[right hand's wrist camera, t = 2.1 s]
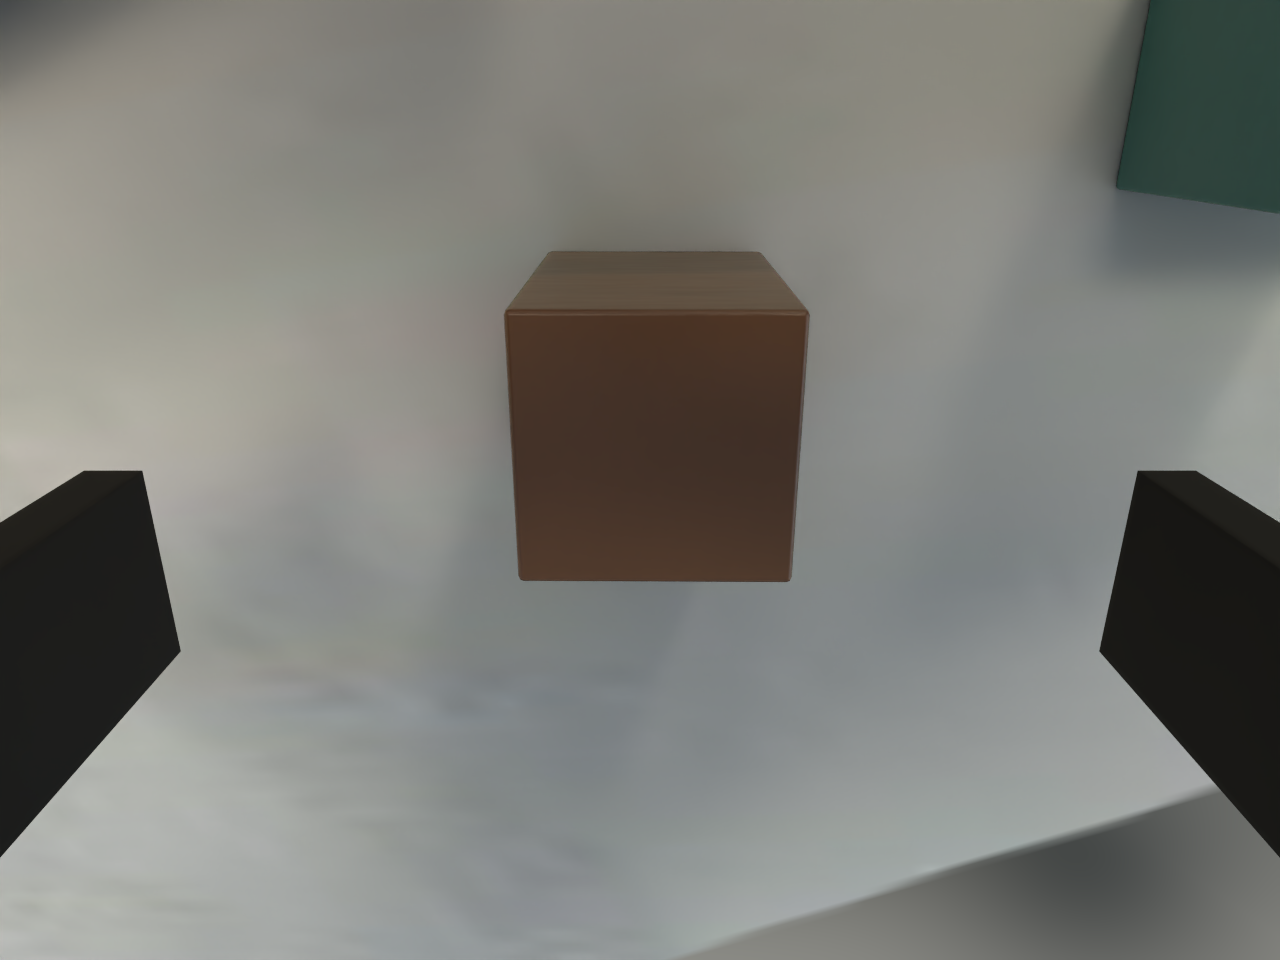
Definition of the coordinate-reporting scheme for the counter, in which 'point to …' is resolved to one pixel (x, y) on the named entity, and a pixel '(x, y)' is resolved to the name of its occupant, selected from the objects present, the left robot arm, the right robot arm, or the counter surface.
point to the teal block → (1207, 104)
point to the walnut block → (656, 417)
